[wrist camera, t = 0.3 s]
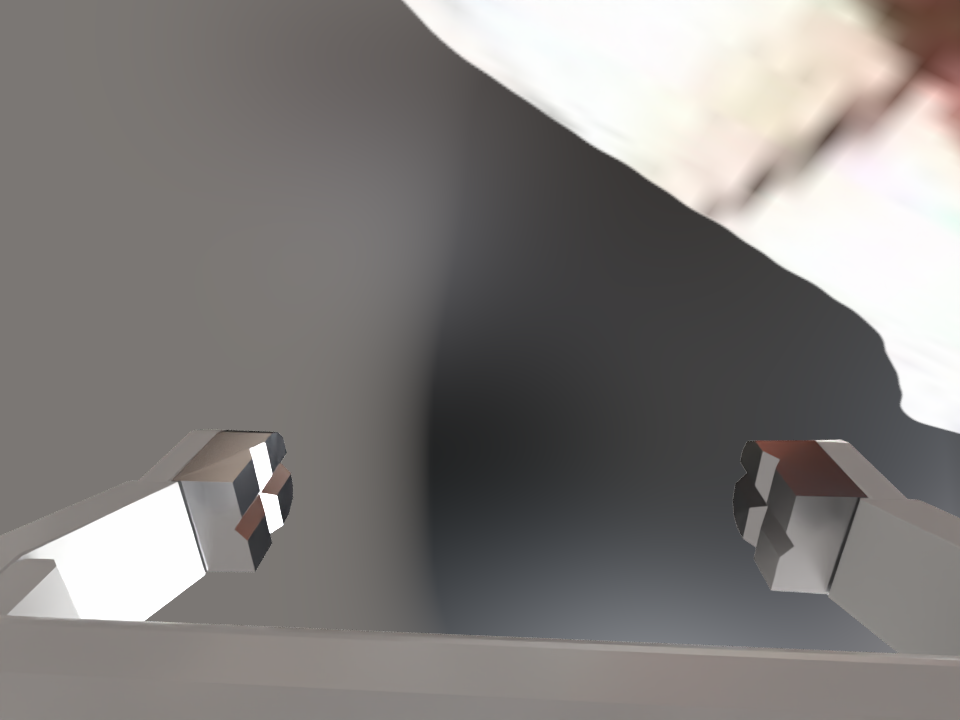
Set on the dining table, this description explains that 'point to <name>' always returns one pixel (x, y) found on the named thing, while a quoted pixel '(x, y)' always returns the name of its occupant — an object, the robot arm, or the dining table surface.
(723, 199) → the dining table surface
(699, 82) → the dining table surface
